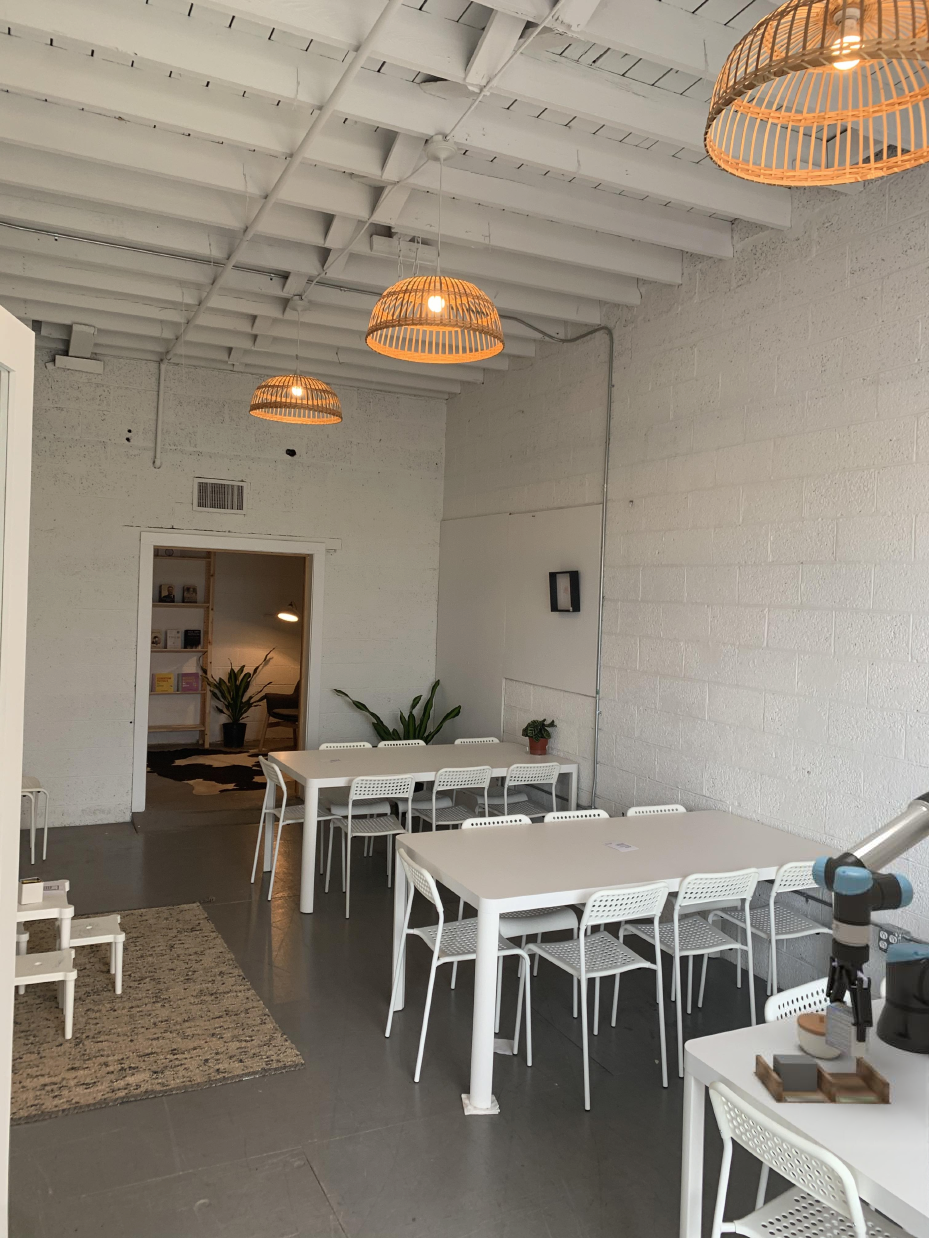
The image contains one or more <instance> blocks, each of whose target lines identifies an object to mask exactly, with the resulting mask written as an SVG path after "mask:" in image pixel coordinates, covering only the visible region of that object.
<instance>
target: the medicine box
mask: <svg viewBox="0 0 929 1238" xmlns="http://www.w3.org/2000/svg"><path fill="white" fill-rule="evenodd" d="M825 1008H826V1009H825V1015H826V1036H825V1044H826V1045H829V1046H831V1047H833V1048H835V1049H838V1050H840V1051H841V1053H844V1054H847V1055H849V1056H851V1057H853V1058H861V1057H858V1056H852V1055H851V1040H852V1025H851V1023H854V1017H853V1011H852V1006H850V1005H847V1004H846V1003H845V1004H842V1003H840V1002H836V1003H832V1004H830V1003H829V1004H827V1005H826V1006H825ZM870 1028H871V1027H867V1028H866V1047H865V1056H867V1055H870V1037H871V1035H870V1033H871V1031H870V1030H871V1029H870Z"/></svg>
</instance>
